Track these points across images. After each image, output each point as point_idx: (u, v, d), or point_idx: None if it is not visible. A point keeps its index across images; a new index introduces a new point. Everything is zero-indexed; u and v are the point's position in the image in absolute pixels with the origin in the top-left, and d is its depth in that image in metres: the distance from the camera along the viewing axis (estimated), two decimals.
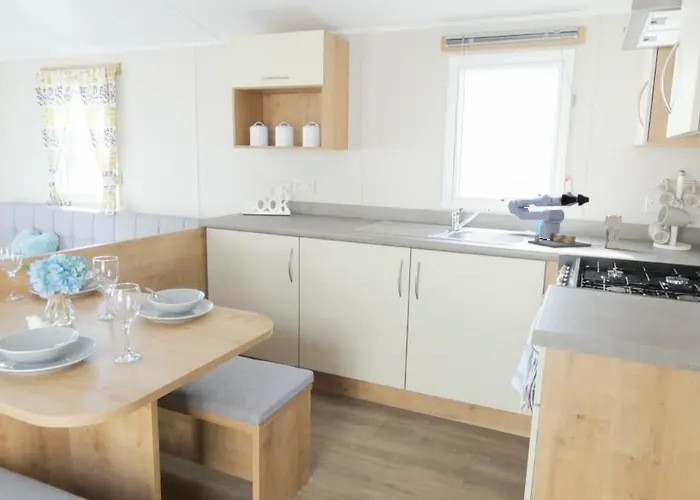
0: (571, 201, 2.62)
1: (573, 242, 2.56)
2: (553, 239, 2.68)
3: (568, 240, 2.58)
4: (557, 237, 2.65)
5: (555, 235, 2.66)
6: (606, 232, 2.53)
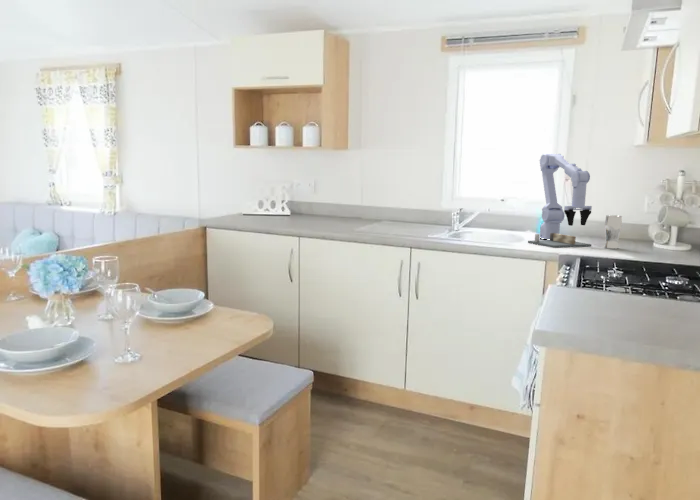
0: (568, 220, 2.61)
1: (573, 242, 2.56)
2: (553, 239, 2.68)
3: (568, 240, 2.58)
4: (557, 237, 2.65)
5: (555, 235, 2.66)
6: (606, 232, 2.53)
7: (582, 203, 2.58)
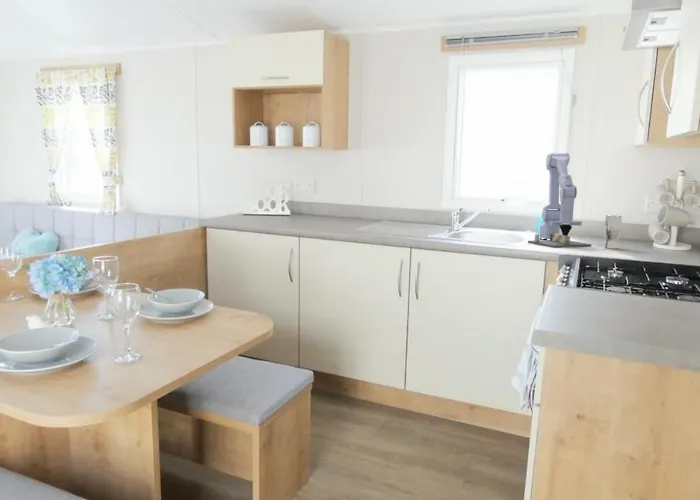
0: None
1: (567, 242, 2.55)
2: (552, 239, 2.68)
3: (563, 240, 2.58)
4: (555, 237, 2.65)
5: (554, 235, 2.66)
6: (606, 232, 2.53)
7: (568, 218, 2.57)
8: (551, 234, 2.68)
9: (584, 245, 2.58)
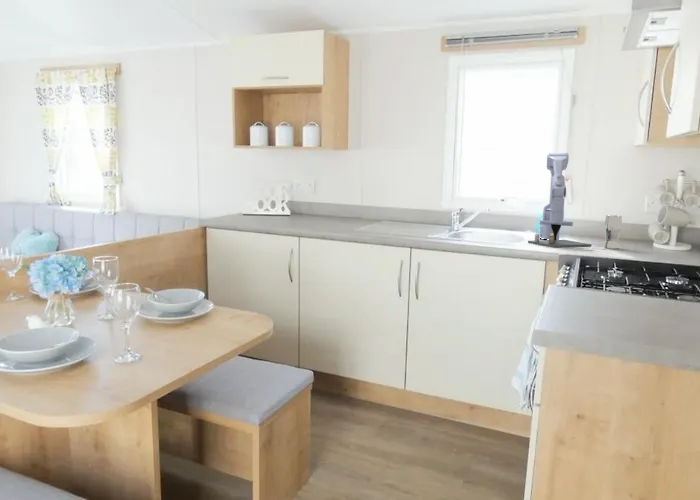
0: None
1: (550, 241, 2.56)
2: None
3: None
4: None
5: None
6: (606, 232, 2.53)
7: (555, 218, 2.57)
8: (550, 234, 2.69)
9: (584, 245, 2.58)
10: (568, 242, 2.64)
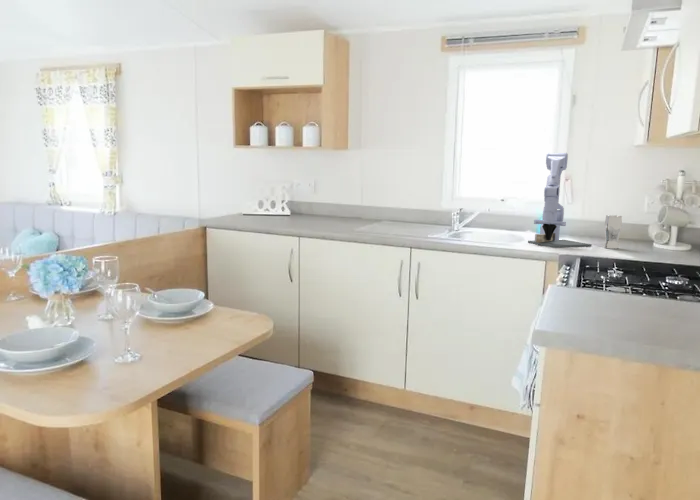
0: None
1: (537, 240, 2.60)
2: None
3: None
4: None
5: None
6: (606, 232, 2.53)
7: (547, 218, 2.58)
8: None
9: (584, 245, 2.58)
10: (568, 242, 2.64)
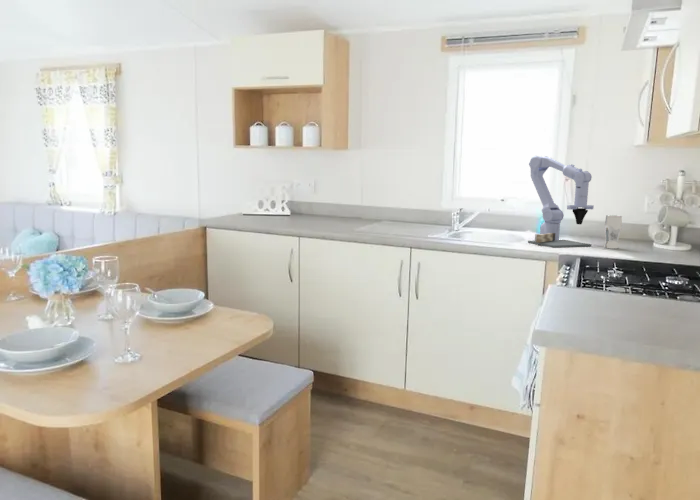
0: (576, 219, 2.69)
1: (537, 240, 2.60)
2: None
3: None
4: None
5: None
6: (606, 232, 2.53)
7: (584, 202, 2.65)
8: None
9: (584, 245, 2.58)
10: (568, 242, 2.64)
